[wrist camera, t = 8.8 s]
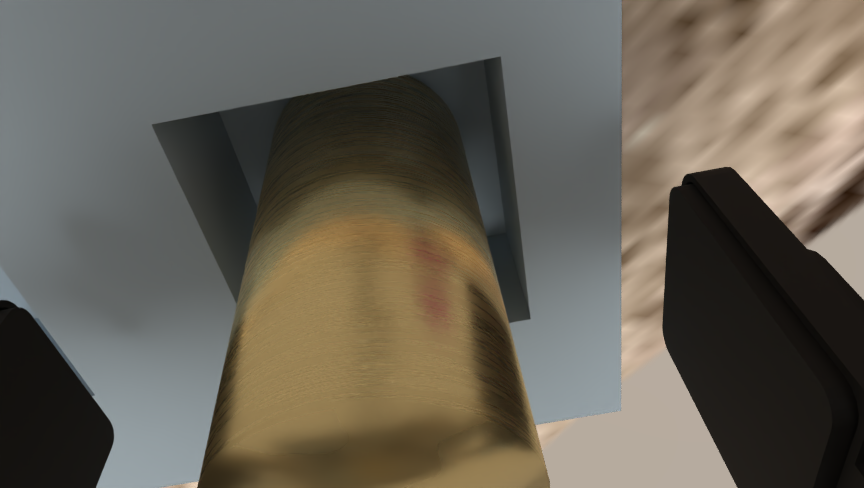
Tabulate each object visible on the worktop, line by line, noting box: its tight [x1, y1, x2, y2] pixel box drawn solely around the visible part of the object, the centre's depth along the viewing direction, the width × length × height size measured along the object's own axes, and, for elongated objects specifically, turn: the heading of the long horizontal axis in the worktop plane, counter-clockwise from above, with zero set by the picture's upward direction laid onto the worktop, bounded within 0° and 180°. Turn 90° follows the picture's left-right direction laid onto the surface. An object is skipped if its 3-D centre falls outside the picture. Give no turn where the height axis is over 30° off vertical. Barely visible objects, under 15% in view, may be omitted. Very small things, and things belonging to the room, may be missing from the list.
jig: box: [0, 0, 622, 488], centre depth 13 cm, size 12×18×4 cm, turn 100°
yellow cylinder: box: [197, 75, 550, 488], centre depth 10 cm, size 4×4×8 cm
